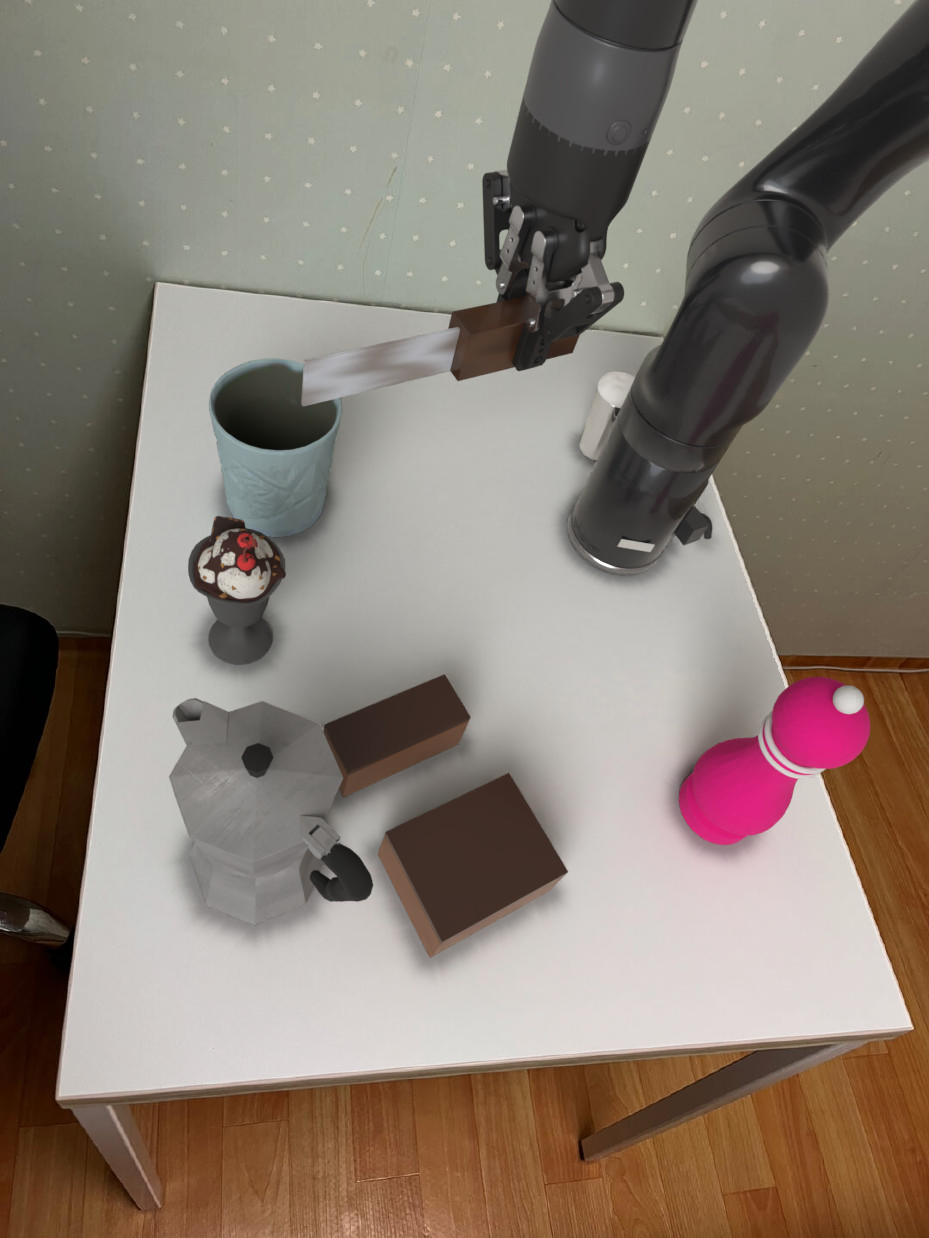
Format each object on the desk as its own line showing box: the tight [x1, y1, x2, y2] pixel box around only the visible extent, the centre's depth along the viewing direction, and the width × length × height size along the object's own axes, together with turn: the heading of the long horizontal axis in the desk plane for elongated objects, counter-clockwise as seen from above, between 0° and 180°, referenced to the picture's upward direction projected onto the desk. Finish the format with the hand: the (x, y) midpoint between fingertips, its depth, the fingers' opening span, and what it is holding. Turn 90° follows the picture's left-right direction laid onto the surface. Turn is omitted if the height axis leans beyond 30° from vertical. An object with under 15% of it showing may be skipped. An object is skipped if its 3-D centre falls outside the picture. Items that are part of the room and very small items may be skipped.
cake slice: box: [322, 673, 471, 798], centre depth 65 cm, size 10×4×5 cm, turn 120°
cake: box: [377, 772, 569, 959], centre depth 61 cm, size 10×8×5 cm
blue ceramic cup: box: [208, 358, 343, 538], centre depth 72 cm, size 10×10×12 cm
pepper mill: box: [678, 676, 871, 846], centre depth 61 cm, size 7×7×20 cm
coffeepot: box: [168, 697, 374, 926], centre depth 53 cm, size 15×9×18 cm, turn 49°
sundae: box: [187, 515, 287, 666], centre depth 63 cm, size 7×7×15 cm
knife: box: [301, 296, 581, 406], centre depth 58 cm, size 21×2×4 cm, turn 120°
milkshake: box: [578, 371, 635, 461], centre depth 84 cm, size 4×5×10 cm
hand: (514, 350), depth 62 cm, fingers closed on knife, 2 cm apart
